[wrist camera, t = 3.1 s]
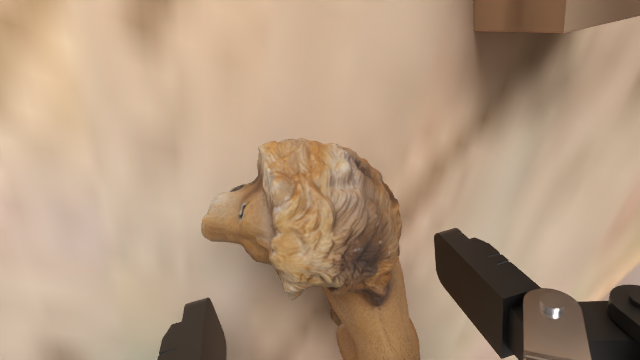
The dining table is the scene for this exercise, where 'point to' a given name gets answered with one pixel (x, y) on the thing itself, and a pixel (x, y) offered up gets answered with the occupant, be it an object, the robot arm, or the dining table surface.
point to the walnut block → (550, 14)
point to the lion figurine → (326, 240)
